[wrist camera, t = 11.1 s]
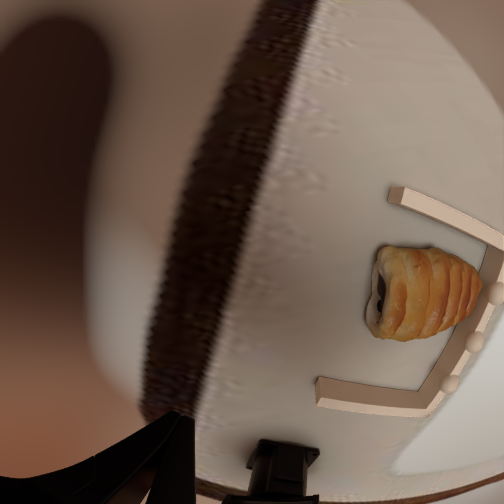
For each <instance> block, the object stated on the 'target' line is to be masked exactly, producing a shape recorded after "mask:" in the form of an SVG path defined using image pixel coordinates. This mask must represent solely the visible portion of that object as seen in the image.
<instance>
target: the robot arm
mask: <svg viewBox="0 0 504 504" xmlns="http://www.w3.org/2000/svg"><path fill="white" fill-rule="evenodd" d="M319 455H320V451H319V450H317V449H311V448H304V447H298V446H292V445H287V444H281V443H276V442H272V441H267V440H260V441H259V443H258V444H257V446H256V448H255V450H254V452H253V454H252V455H251V457H250V459H249V461H248V463H247V465H246V468H247V469H250V470H252V474H251V479H250V483H249V487H248V492H247V496H243V495H234V494H230V493H228V494H227V495H226V497H225V499H224V500H223V502H222V504H319V495H313V496H306V489H307V469H308V468H309V467H310V465H311V464H312V463H313V462H314V461H315V460H316V458H317V457H318V456H319ZM150 488H151V489H150ZM149 490H150V492H149V495H148V498H147V501H146V503H145V504H196V480H195V419H194V418H191V417H189V416H186V415H184V416H183V415H182V414H181V413H178V412H176V411H173V410H171V411H169V412H168V413H166V414H164V415H163V416H161V417H160V418H158V419H157V420H155V421H153V422H152V423H150V424H148V425H147V426H145V427H144V428H142V429H140V430H139V431H137V432H135V433H134V434H132V435H130V436H128V437H127V438H125V439H124V440H121V441H120V442H118V443H116V444H114V445H113V446H111V447H109V448H107V449H105V450H103V451H101V452H100V453H98V454H96V455H95V457H94V456H92V457H90V458H88V459H86V460H84V461H82V462H79V463H77V464H75V465H72V466H70V467H67V468H64V469H61V470H57V471H54V472H50V473H47V474H43V475H39V476H34V477H30V478H9V477H4V476H0V504H140V503H141V502H142V500H143V499H144V497H145V496H146V494H147V493H148V491H149Z"/></svg>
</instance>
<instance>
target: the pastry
mask: <svg viewBox="0 0 504 504" xmlns="http://www.w3.org/2000/svg"><path fill="white" fill-rule="evenodd" d="M371 278H372V285H371V288H372V296H371V299H370V300H369V303H368V305H367V312H366V321H367V325H368V328H369V330H370V331H371V333H372V335H373V336H374V337H376V338H381V339H394V340H397V341H402V342H405V341H409V340H413V339H421V338H428V337H430V336H433V335H436V334H437V333H438V332H440V331H444V330H447V328H449V327H452V326H454V325H455V324H457V323H460V322H461V321H462V320H463V319H465V318H466V317H468V316H469V315H470V314H471V312H472V311H473V309H474V307H475V304H476V301H477V298H478V295H479V292H480V291H481V289H482V286H483V285H482V281H481V279H480V277H479V274H478V272H477V270H476V269H475V267H474V266H472V265H470V264H468V263H467V262H465V261H463V260H462V259H461V258H459V257H457V256H454V255H451V254H447V253H445V252H443V251H442V250H441V249H439V248H435V247H432V248H429V249H426V250H425V249H413V248H405V247H404V248H396V247H393V246H386V247H383V248H382V249H381V250H380V251H379V252H378V256H377V261H376V262H375V264H374V266H373V271H372V276H371Z"/></svg>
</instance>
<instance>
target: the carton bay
mask: <svg viewBox="0 0 504 504" xmlns="http://www.w3.org/2000/svg"><path fill="white" fill-rule="evenodd" d="M387 201H388V202H390V203H393V204H396V205H398V206H401V207H403V208H406V209H409V210H411V211H414V212H416V213H419V214H421V215H424V216H426V217H428V218H431V219H433V220H436V221H438V222H440V223H443V224H445V225H447V226H449V227H452V228H454V229H456V230H458V231H460V232H462V233H465V234H467V235H469V236H471V237H473V238H475V239H477V240H479V241H481V242H483V243H485V244H487V245H488V248H487V251H486V254H485V257H484V260H483V263H482V266H481V269H480V272H479V277H480V279H481V281H482V285H483V286H482V289H481V291H480V292H479V295H478V298H477V301H476V304H475V307H474V309H473V311H472V312H471V314H470V315H469V316H468V317H466V318H465V319H463V320H462V321H461V322H460V323H458V324H457V326H456V328H455V330H454V332H453V334H452V336H451V338H450V340H449V342H448V343H447V345H446V347H445V349H444V351H443V352H442V354H441V356H440V358H439V359H438V361H437V363H436V364H435V366H434V368H433V369H432V371H431V372H430V374H429V376H428V377H427V379H426V380H425V382H424V383H423V385H422V386H421V388H420V389H419V391H408V390H399V389H390V388H383V387H376V386H369V385H363V384H357V383H351V382H345V381H340V380H335V379H330V378H325V377H319V379H318V381H317V383H316V384H315V394H316V406H319V407H325V408H331V409H337V410H344V411H351V412H359V413H367V414H377V415H389V416H404V417H428V416H429V415H430V414H431V413H432V411H433V410H434V409H435V408H436V406H437V405H438V404H439V402H440V401H441V400H442V398H443V397H444V395H445V394H449V393H452V392H453V391H455V390H456V388H457V387H458V384H459V378H458V375H459V373H460V372H461V370H462V368H463V367H464V365H465V363H466V362H467V360H468V358H469V357H470V355H471V353H476V352H478V351H479V350H480V349H481V348H482V346H483V343H484V336H483V334H482V333H483V331H484V329H485V327H486V325H487V323H488V321H489V318H490V316H491V314H492V312H493V310H494V307H495V306H497V305H500V304H501V303H502V302H503V301H504V235H502V234H501V233H499V232H497V231H495V230H494V229H492V228H490V227H488V226H487V225H485V224H483V223H481V222H479V221H477V220H475V219H473V218H471V217H470V216H468V215H466V214H464V213H462V212H460V211H458V210H456V209H453V208H451V207H449V206H447V205H445V204H443V203H441V202H439V201H436V200H434V199H432V198H430V197H427V196H425V195H423V194H420V193H418V192H416V191H413V190H411V189H408V188H406V187H391V189H390V193H389V196H388V200H387Z"/></svg>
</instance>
